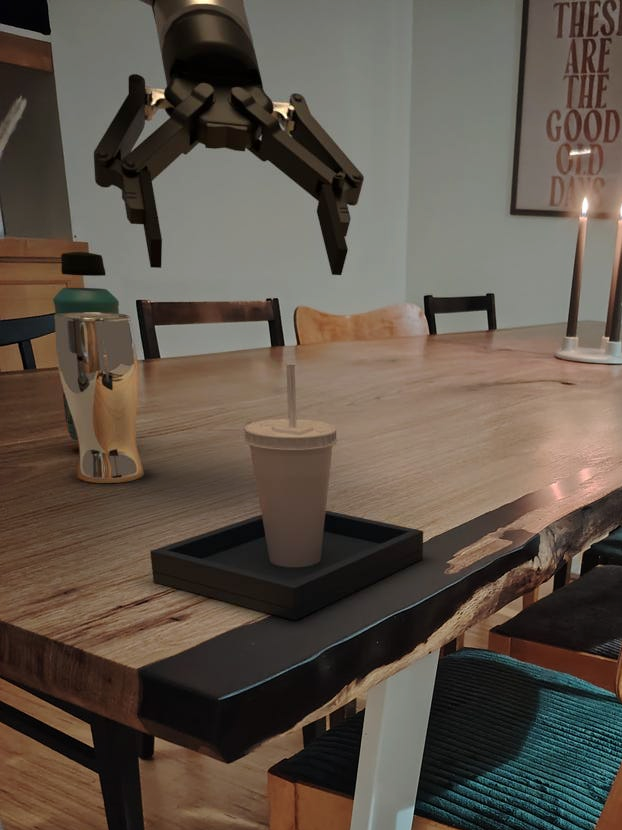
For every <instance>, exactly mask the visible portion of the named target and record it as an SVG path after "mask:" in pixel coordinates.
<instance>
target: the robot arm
mask: <svg viewBox="0 0 622 830" xmlns="http://www.w3.org/2000/svg"><path fill="white" fill-rule="evenodd" d="M139 1H140V2H142V3H144V4H146V5H147V6H150V7H151V10H152V14H153V19H154V22H155V26H156V33H157V38H158V46H159V49H160V54H161V62H162V66H163V72H164V77H165V82H166V83H165V84H166V87H165V88H158V87H153V86H146V79H145V78H144V77H143V76H142V75H140V74H137V73H133V74H130V75H129V76H128V94H127V96H126V97H125V99H124V101H123V103H122V104H121V105H120V107H119V109H118V111H117V112H116V114H115V116H113V119H112V121H111V122H110V124H109V126H108V127H107V129H106V131H105V132H104V134H103V136H102V137H101V139H100V140H99V142H98V144H97V146H96V147H95V149H94V150H93V166H94V167H93V169H94V181H95V184H96V185H97V186H99V187H101V188H104V189H105V188H110V187H111V186H113V187H116V188H118V189H119V190H120V191H121V199H122V201H124V208H125V215H126V219H127V220H128V222H129V224H130V225H143V230H144V237H145V242H146V247H147V248H146V249H147V255H148V260H149V266H150V268H152V269H153V268H156V269H157V268H158V269H162V258H163V254H162V252H163V239H162V231H161V226H160V221H159V215H158V210H157V203H156V198H155V192H154V186H153V181H154V180H155V179H156V178H157V177H158V176H160V174H161V173H163V172H164V171H165V170H166V169H167V168H168V167H170V165H171V164H173V163H174V162H175V161H176V160H177V159H178V158H179V157H180V156H181V155H188V154H189V153H190V152H191V151H192V150H193V149H194V148H195V147H196V146H197V145H199V144H201V145H204V147H205V149H212V150H213V149H214V150H217V149H229V150H232V151H235V152H246V150H247V151H249V152H250V153H251V154H253V156H255V157H256V158H257V159H259V160H260V161H261V162H264V163H265V162H270V164H272V165H273V166H274V167H276V168H277V169H278V170H280V171H281V172H282V173H283V174H284V175H285V176H287V178H289V179H290V180H292V181H293V182H294V183H295V184H297V185H298V186H299V187H300V188H301V189H303V190H304V191H305V192H306V193H308V194H309V195H310V196H311V197H313V198H314V199H315V200H316V201H317V206H316V207H317V208H316V214H317V215H316V216H317V218H318V224H319V226H320V231H321V237H322V240H323V244H324V248H325V252H326V256H327V260H328V264H329V269H330V272H331V275H332V276H342V274H343V272H344V271H343V270H344V266H345V263H346V259H347V254H348V250H349V249H348V245H347V241H346V238H345V237H347V235H348V231H349V227H350V223H351V219H352V218H351V213H350V210H349V206H352V207H354V206H356V205H358V203H359V199H360V196H361V192H362V189H363V183H364V180H365V176H364V175H363V173H362V172H361V171H360V170H359V169H358V168H357V166H356V165H355V164H354V163H353V162H352V161H351V159H350V158H349V157H348V156H347V154H346V153H345V152H344V150H342V148H341V147H339V145H338V144H337V142H335V141H334V140H333V138H332V137H331V136H330V135H329V134H328V132H327V131H326V130H325V129H324V128H323V127H322V125H321V124H320V123H319V121H317V119H316V118H315V117H314V116H313V115H312V114H311V110H310V108H309V106H308V104H307V103H308V102H307V101H306V99H305V96H303V95H302V94H301V93H291V94H290V97H289V102H287V101H286V102H284V101H283V102H281V101H272V99H271V98H270V97H269V95H268V94H267V93H266V92H265V90H264V85H263V80H262V76H261V75H262V74H261V72H260V67H259V64H258V59H257V54H256V50H255V47H254V39H253V36H252V32H251V29H250V24H249V20H248V16H247V13H246V9H245V5H244V4H245V3H244V0H139ZM162 109H163V110H164V111H165V113H166V114H167V116H168V117H169V118H168V119H167V120H166V121H165V122H163V123H162V124H161V125H160V126H159V127H158V128H156V129H155V130H154V131H153V132H152V133H151V134H149V136H147V137H146V138H145V139H144V140H143V141H141V142H140V143H139V144H138V145H137V146H136V143H137V142H138V140H139V138H140V137H141V135H142V133H143V131H144V130H145V129H144V128H145V126H146V121H147V122H150V121H152V120H153V116H155V115H156V114H157V111H159V110H162ZM281 126H282V127H283V128H284V129H283V128H282V127H281ZM260 138H261V139H260ZM134 147H135V148H134ZM348 205H349V206H348Z"/></svg>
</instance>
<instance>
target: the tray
mask: <svg viewBox="0 0 622 830" xmlns="http://www.w3.org/2000/svg"><path fill="white" fill-rule="evenodd" d="M423 549H424V530H421V529H416V528H412V527H407V526H402V525H396V524H392V523H388V522H383V521H378V520H374V519H370V518H364V517H358V516H354V515H350V514H345V513H340V512H335V511H330V510H326V512H325V522H324V531H323V541H322V550H321V559H320V561H319V562H318V563H316V564H314V565H311V566H306V567H283V566H278V565H275V564H273V563H271V562H270V559H269V553H268V547H267V542H266V536H265V530H264V524H263V519H262V513H261V514H259V515H256V516H252V517H250V518H247V519H243V520H240V521H237V522H234V523H231V524H228V525H225V526H222V527H219V528H216V529H212V530H209V531H206V532H204V533H201V534H198V535H193V536H192V537H189V538H185V539H183V540H180V541H175V542H173V543H170V544H167V545H164V546H161V547H158V548H155V549H151V550H150V562H151V571H152V572H151V573H152V581H153V583H157V584H159V585H164V586H168V587H171V588H175V589H179V590H182V591H186V592H190V593H192V594H196V595H201V596H204V597H207V598H211V599H215V600H217V601H218V600H219V601H222V602H225V603H229V604H232V605H236V606H239V607H243V608H248V609H251V610H254V611H258V612H262V613H265V614H268V615H273V616H275V617H280V618H282V619H287V620H290V621H295V622H297V621H298V620H301V619H302V618H305V617H307V616H309V615H311V614H313V613H314V612H317V611H319V610H321V609H323V608H325V607H327V606H329V605H331V604H333V603H335V602H337V601H339V600H342V599H344V598H345V597H348V596H349V595H352V594H354V593H355V592H358V591H360V590H362V589H364V588H366V587H368V586H371V585H372V584H375V583H376V582H378V581H380V580H382V579H385V578H386V577H388V576H390V575H392V574H395V573H397V572H399V571H401V570H403V569H405V568H406V567H409V566H411V565H413V564H414V563H417V562H420V561H421V560H423V558H424V557H423V556H424V554H423V553H424V550H423Z"/></svg>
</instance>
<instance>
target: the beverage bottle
mask: <svg viewBox="0 0 622 830" xmlns="http://www.w3.org/2000/svg"><path fill="white" fill-rule="evenodd" d="M60 262H61V263H60V264H61V267H60V269H61V275H65V276H66V275H67V276H68V275H69V276H88V277H103V276H104V277H105V276H107V275H106V269H105V265H104V259H103V256H102V255H101V254H97V253H94V252H93V253H92V252H86V251H71V252H64V253H63V252H62V253H61V255H60ZM52 301H53V302H52V303H53V306H54V313H55V314H58V313H70V312H101V313H117V314H120V310H119V306H120V302H119V299H117V297H116V296H114V295H113V293H112V292H111V291H109V290H108V289H106V288H99V287H98V288H96V287H62V288H61V289H60V290H59V291H58V292H57V293H56V294H55V296H54V297H53V299H52ZM60 383H61V384H62V382H61V381H60ZM61 387H62V391H63V392H62V398H63V407H64V414H65V415H64V416H65V422H66V426H67V427H66V430H67V432H68V434H69V436H70V439H72V440H74V441H78V438H77V433H76V429H75V426H74V422H73V419H72V416H71V413H70V410H69V406H68V403H67V400H66V397H65V393H64V390H63V386H62V385H61Z"/></svg>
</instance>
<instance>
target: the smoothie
mask: <svg viewBox="0 0 622 830" xmlns="http://www.w3.org/2000/svg"><path fill="white" fill-rule="evenodd" d="M285 365H286V367H285V368H286V388H287V389H286V391H287V392H286V393H287V416H288V417H287V419H281V418H279V419H266V420H260V421H259V420H258V421H255V422H252V423H249V424H246V425H245V427H244V439H243V440H244V443H245V444H246V445H248V446H249V449H250V455H251V461H252V467H253V472H254V479H255V483H256V489H257V495H258V501H259V506H260V513H261V514H262V519H263V524H264V530H265V536H266V542H267V547H268V553H269V559H270V562H271V563H273V564H275V565H278V566H283V567H306V566H311V565H314V564H316V563H318V562H319V561H320V559H321V550H322V541H323V531H324V522H325V512H326V511H327V503H328V492H329V482H330V475H331V474H330V473H331V466H332V465H331V464H332V454H333V447H334V446H335V445H336V444H337V443H338V439H337V428H336V427H335V426H334V425H332V424H330V423H327V422H323V421H317V420H311V419H310V420H308V419H297V395H296V394H297V393H296V392H297V391H296V364H295V363H286V364H285Z"/></svg>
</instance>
